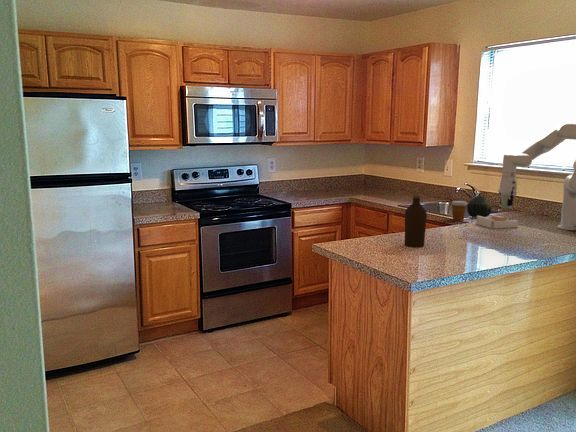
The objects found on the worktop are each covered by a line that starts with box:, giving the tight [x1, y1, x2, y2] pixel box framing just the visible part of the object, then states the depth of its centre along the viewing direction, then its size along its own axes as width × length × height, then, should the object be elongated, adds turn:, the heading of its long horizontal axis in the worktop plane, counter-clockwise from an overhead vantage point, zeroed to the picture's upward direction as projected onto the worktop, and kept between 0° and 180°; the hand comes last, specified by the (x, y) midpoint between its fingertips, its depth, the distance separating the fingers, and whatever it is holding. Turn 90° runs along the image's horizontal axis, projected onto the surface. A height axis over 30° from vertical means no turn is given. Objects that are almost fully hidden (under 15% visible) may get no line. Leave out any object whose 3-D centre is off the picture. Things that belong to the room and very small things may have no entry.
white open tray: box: [475, 215, 519, 229], centre depth 307 cm, size 15×17×5 cm
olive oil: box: [404, 194, 428, 248], centre depth 251 cm, size 11×11×25 cm
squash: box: [466, 194, 493, 218], centre depth 337 cm, size 14×15×15 cm
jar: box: [500, 193, 512, 210], centre depth 306 cm, size 6×6×9 cm
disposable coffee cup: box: [450, 200, 468, 222], centre depth 324 cm, size 10×10×12 cm
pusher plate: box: [490, 214, 508, 221], centre depth 307 cm, size 12×2×5 cm, turn 14°
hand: (506, 204), depth 306 cm, fingers closed on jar, 6 cm apart
